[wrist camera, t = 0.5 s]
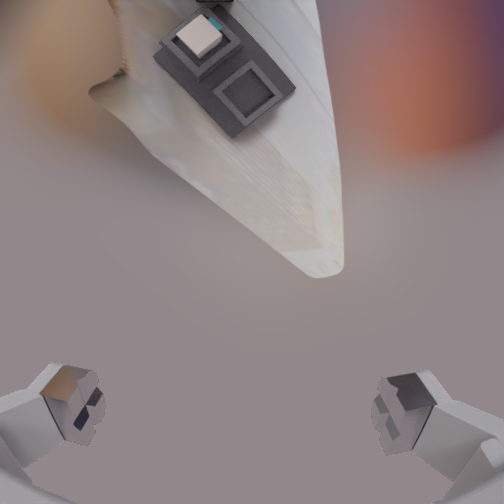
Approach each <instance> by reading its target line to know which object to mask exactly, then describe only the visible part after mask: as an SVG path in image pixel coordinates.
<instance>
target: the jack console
mask: <svg viewBox="0 0 504 504" xmlns="http://www.w3.org/2000/svg"><path fill="white" fill-rule="evenodd" d="M200 14H202V15H203V16H204V17H205V18H206V19H207V20H208V19H209V18H211V17H212V18H213V19H214V20H215V21H216V22H217V23H218V24H219V25H220V26H221V27H222V30H220V31H219V32H220V33H221V34H222V40H221V43H220V44H219V45H218V46H217V47H215V48H214V49H213V50H212V51H210V52H209V53H208V54H207V55H205V56H204V57H203V58H202V59H199V58H198V57H197V56H196V55H195V54H194V53H193V52H192V51H191V50H190V49H189V48H188V47H187V46H186V45H185V44H184V43H183V42H182V41H181V40H180V38H179V37H178V36H177V35H176V34H177V33H178V32H179V31H180V30H181V29H183V28H184V27H185V26H186V25H188V24H189V23H190V22H191V21H193V20H194V19H195V18H197V17H198V16H199V15H200ZM159 43H160V44H161V45H162V46H163V48H162V49H161V50H160V51H159V52H158V53H156V54H155V55H154V56H153V57H154V58H155V59H156V60H157V61H158V62H159V63H160V64H161V65H162V66H163V67H164V68H165V69H166V70H167V71H168V72H169V73H170V74H171V75H172V76H173V77H174V78H175V79H176V80H177V81H178V82H179V83H180V84H181V85H182V86H183V87H184V88H185V89H186V90H187V91H188V92H189V93H190V94H191V95H192V96H193V97H194V98H195V99H196V100H197V101H198V102H199V103H200V104H201V106H202V107H203V108H204V109H205V110H206V111H207V112H208V113H209V114H210V115H211V116H212V117H213V118H214V119H215V120H216V121H217V122H218V123H219V125H220V126H221V127H222V128H223V129H224V130H225V131H226V132H227V133H228V134H229V135H230V136H231V138H233V137H235V136H236V135H237V134H238V133H239V132H241V131H242V130H243V129H244V128H245V127H247V126H248V125H249V124H250V123H252V122H253V121H254V120H255V119H257V118H258V117H259V116H260V115H262V114H263V113H264V112H265V111H267V110H268V109H269V108H271V107H272V106H273V105H274V104H276V103H277V102H278V101H280V100H281V99H282V98H284V97H285V96H286V95H288V94H289V93H290V92H292V91H293V90H294V89H296V87H295V86H294V85H293V83H292V82H291V81H290V80H289V79H288V77H287V76H286V75H285V74H284V73H283V71H282V70H281V69H280V68H279V67H278V65H277V64H276V63H275V62H274V61H273V60H272V59H271V57H270V56H269V55H268V54H267V53H266V52H265V51H264V50H263V48H262V47H261V46H260V45H259V44H258V43H257V42H256V41H255V40H254V39H253V38H252V36H251V35H250V34H249V33H248V32H247V31H246V30H245V29H244V28H243V27H242V26H241V25H240V24H239V23H238V22H237V21H236V20H235V19H234V18H233V17H232V16H231V15H230V14H229V13H228V12H227V11H226V10H225V9H224V8H223V7H222V6H221V5H220V4H217V5H216V6H214V7H213V8H212V9H210V8H209V7H208V6H206V5H204V6H203V7H202V8H200V9H199V10H198V11H196V12H195V13H194V14H192V15H191V16H190V17H188V18H187V19H186V20H185V21H183V22H182V23H181V24H180V25H178V26H177V27H176V28H175V29H174V30H172V31H171V32H170V33H169V34H168V35H166V36H165V37H164V38H163V39H162V40H161V41H160V42H159Z"/></svg>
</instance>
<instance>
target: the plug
mask: <svg viewBox="0 0 504 504" xmlns="http://www.w3.org/2000/svg"><path fill="white" fill-rule="evenodd" d="M220 30H222V27H221V26H220V25H219V24H218V23H217V22H216V21H215V20H214V19H213V18H212V17H211V18H209V19H208V20H207V19H206V18H205V17H204V16H203V15H202V14H200V15H199V16H198V17H197V18H195V19H194V20H193V21H191V22H190V23H189V24H188V25H186V26H185V27H184V28H183V29H181V30H180V31H179V32H178V33H177V34H176V35H177V36H178V37H179V38H180V40H181V41H182V42H183V43H184V44H185V45H186V46H187V47H188V48H189V49H190V50H191V51H192V52H193V53H194V54H195V55H196V56H197V57H198V58H199V59H202V58H203V57H204V56H205V55H207V54H208V53H209V52H210V51H212V50H213V49H214V48H215V47H217V46H218V45H219V44H220V43H221V40H222V34H221V33H220V32H219V31H220Z"/></svg>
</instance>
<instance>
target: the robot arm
mask: <svg viewBox="0 0 504 504" xmlns="http://www.w3.org/2000/svg"><path fill="white" fill-rule="evenodd" d="M98 383H99V379H98V376H97V374H96V372H94V371H93V370H88V369H83V368H78V367H73V366H70V365H64V364H60V363H56V362H54V363H50V364H49V365H48V366H47V367H46V368H45V369H44V371H43V372H42V373H41V374H40V375H39V376H38V377H37V378H36V379H35V380H34V382H33V383H32V384H31V385H30V386H29V387H28V388H27V389H26V390H24V389H21V390H19V391H16V392H14V393H11V394H8V395H6V396H4V397H1V398H0V504H80V503H77V502H74V501H72V500H69V499H66V498H64V497H61V496H59V495H56V494H54V493H51V492H49V491H47V490H44V489H42V488H40V487H38V486H35V485H34V484H32V483H33V482H32V479H31V477H30V476H29V475H28V474H27V472H26V471H25V470H24V468H25V467H27V466H28V465H30V464H31V463H33V462H35V461H36V460H37V459H39V458H40V457H42V456H44V455H45V454H47V453H48V452H49V451H51V450H53V449H54V448H56V447H57V446H59V445H60V444H61V443H63V442H64V440H67V441H70V442H73V443H77V444H81V445H85V446H88V445H89V443H90V442H91V440H92V438H93V436H94V434H95V432H96V430H95V427H94V425H96V424H98V423H99V422H101V421H102V419H103V417H104V414H105V408H106V404H105V398H104V395H103V393H102V392H101V390H100V389H99V388H98V387H97V385H98ZM377 388H378V391H379V393H380V394H379V395H378V396H377V397H376V398H375V399H374V401H373V404H372V411H371V417H372V422H373V425H374V428H375V429H376V430H378V431H379V432H381V433H382V434H381V437H380V439H379V440H380V443H381V445H382V447H383V450H384V452H385V455H386V456H387V455H392V454H397V453H402V452H407V451H411V450H412V452H413V453H415V454H416V455H417V456H418V457H420V458H421V459H423V460H424V461H425V462H426V463H428V464H429V465H430V466H432V467H433V468H434V469H436V470H437V471H438V472H440V473H441V474H442V475H444V476H445V477H447V478H448V479H450V480H451V481H452V482H453V484H452V485H451V486H450V487H449V489H448V490H447V491H446V492H445V494H444V496H443V499H442V500H439V501H436V502H434V503H431V504H504V420H502V419H499V418H497V417H495V416H492V415H490V414H488V413H485V412H483V411H481V410H478V409H476V408H474V407H472V406H469V405H467V404H465V403H463V402H460V401H458V400H455V401H453V400H452V399H451V398H450V396H449V395H448V394H447V392H446V391H445V390H444V388H443V387H442V386H441V384H440V383H439V382H438V380H437V379H436V378H435V377H434V375H433V374H432V373H431V371H429V370H427V369H426V370H421V371H416V372H412V373H406V374H400V375H393V376H386V377H382V378H381V379H380V381H379V384H378V387H377Z"/></svg>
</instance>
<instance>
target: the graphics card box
mask: <svg viewBox="0 0 504 504" xmlns="http://www.w3.org/2000/svg"><path fill="white" fill-rule="evenodd" d="M233 1H234V0H196V2H233Z"/></svg>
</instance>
